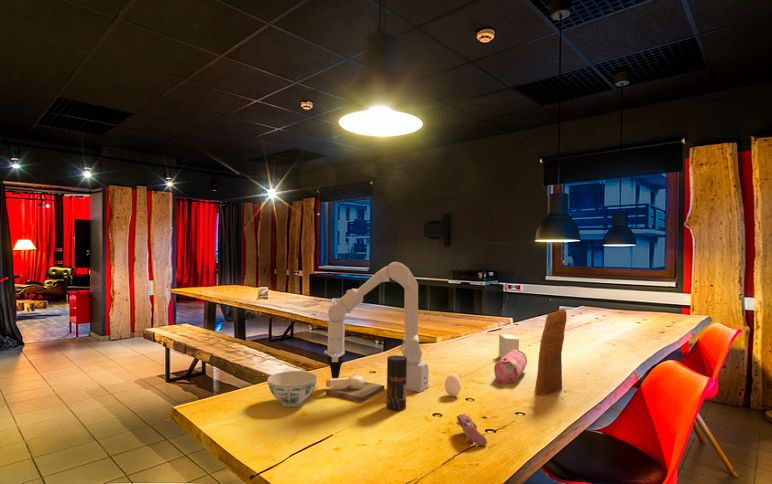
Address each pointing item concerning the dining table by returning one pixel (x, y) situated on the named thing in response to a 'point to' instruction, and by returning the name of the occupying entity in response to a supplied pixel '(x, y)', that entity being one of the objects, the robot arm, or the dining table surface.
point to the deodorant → (396, 382)
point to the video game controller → (471, 430)
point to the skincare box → (507, 344)
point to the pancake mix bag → (551, 354)
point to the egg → (452, 385)
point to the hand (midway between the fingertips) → (335, 377)
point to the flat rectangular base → (356, 391)
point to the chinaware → (292, 387)
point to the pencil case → (510, 366)
